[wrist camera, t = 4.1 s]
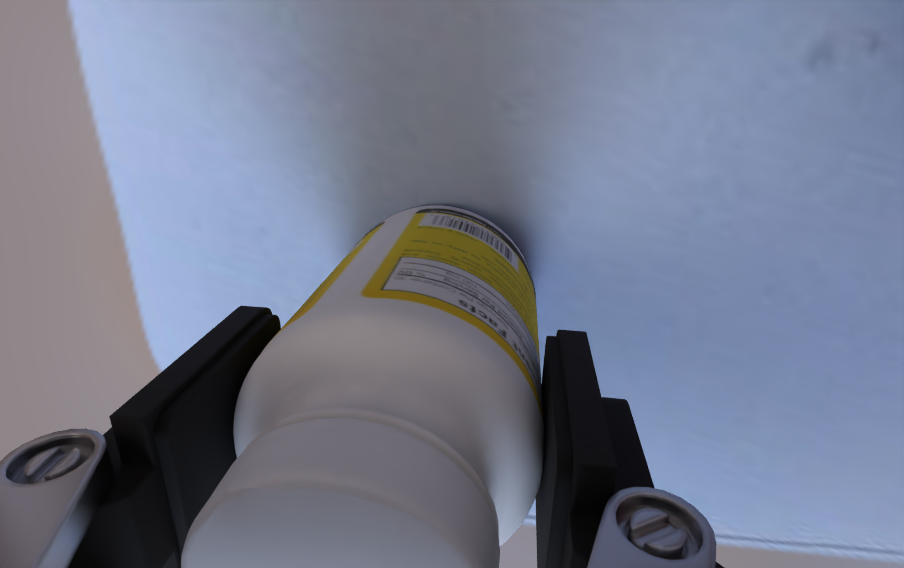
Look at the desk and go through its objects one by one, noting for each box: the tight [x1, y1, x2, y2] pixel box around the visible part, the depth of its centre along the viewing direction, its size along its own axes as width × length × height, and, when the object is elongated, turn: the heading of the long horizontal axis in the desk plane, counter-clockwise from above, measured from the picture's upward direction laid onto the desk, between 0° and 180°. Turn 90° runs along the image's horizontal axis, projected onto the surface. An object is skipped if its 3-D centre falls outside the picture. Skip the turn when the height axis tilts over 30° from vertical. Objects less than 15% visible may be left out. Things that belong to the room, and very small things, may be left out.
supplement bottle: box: [181, 205, 544, 568], centre depth 11 cm, size 5×5×10 cm
